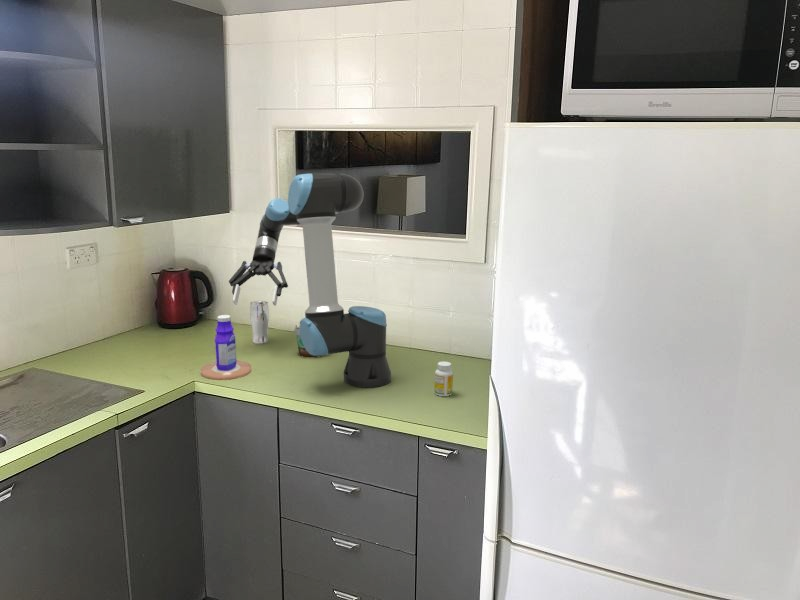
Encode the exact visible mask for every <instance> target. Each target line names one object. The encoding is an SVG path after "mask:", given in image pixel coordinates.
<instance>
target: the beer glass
mask: <svg viewBox="0 0 800 600" xmlns="http://www.w3.org/2000/svg"><path fill="white" fill-rule="evenodd" d="M269 309H270V308H269V301H266V300H254V301H251V302H250V303H249V319H250V325H251V330H252V339H251V343H252V342H253V343H252V344H254V343H255V345H264V344H263V343H265V344H268V343H269V342H268V341H269V336H268V327H269V323H270V322H269V321H270V319H269V318H270V310H269ZM267 342H268V343H267Z"/></svg>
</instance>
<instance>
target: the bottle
mask: <svg viewBox="0 0 800 600" xmlns="http://www.w3.org/2000/svg"><path fill="white" fill-rule="evenodd" d="M231 317H232V316H231V315H229V314H220V315H218V316H217V326H216V328H215V332H216V335H215V337H214V346H215V347H214V350H215V362H216V366H217V369H219V370H224V371H226V370H231V369H232V368H234V367H235V366H236V363H237V349H236V348H237V347H236V345H237V344H236V343H237V342H236V335H235V332H234V326H233V325H232V319H231Z"/></svg>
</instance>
